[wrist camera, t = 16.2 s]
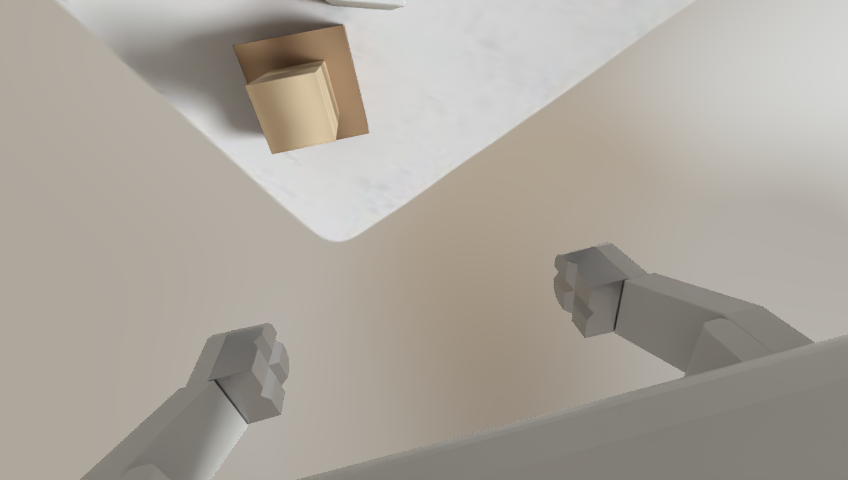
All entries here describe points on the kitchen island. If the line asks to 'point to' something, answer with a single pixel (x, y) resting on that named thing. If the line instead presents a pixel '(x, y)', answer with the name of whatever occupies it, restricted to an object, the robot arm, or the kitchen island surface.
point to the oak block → (295, 106)
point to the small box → (369, 3)
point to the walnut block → (310, 49)
